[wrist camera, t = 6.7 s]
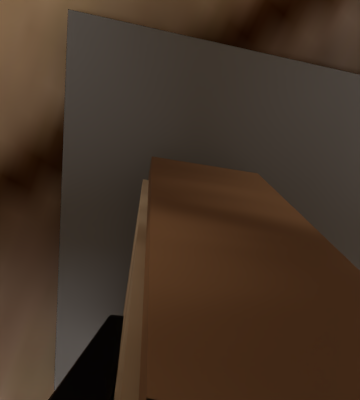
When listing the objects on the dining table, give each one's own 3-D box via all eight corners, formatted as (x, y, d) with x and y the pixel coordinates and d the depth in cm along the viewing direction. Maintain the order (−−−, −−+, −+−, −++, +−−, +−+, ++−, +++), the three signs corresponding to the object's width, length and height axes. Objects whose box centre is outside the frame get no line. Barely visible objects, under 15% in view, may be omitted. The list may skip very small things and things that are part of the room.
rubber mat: (58, 376, 13) (54, 390, 12) (74, 13, 8) (68, 9, 7) (377, 392, 15) (386, 404, 15) (555, 121, 10) (578, 123, 10)
